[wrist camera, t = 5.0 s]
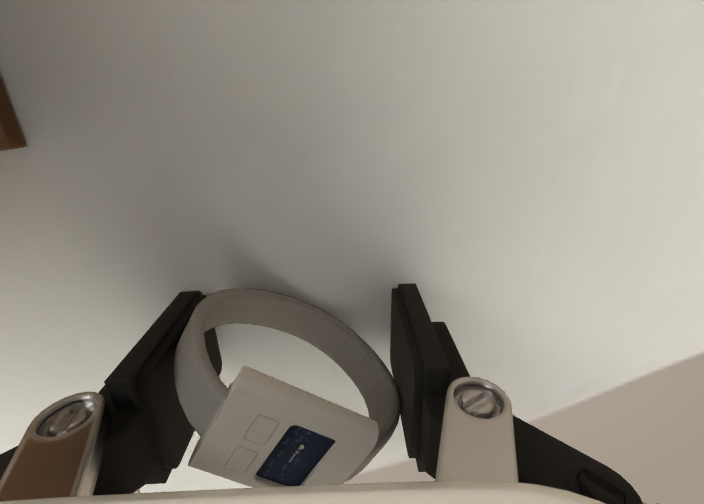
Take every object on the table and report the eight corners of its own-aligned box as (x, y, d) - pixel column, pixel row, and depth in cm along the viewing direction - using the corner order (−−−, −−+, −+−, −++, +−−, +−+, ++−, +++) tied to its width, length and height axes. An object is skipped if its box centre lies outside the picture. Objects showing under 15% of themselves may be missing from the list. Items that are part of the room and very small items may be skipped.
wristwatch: (202, 310, 12) (110, 447, 7) (236, 244, 11) (156, 350, 6) (360, 381, 13) (371, 533, 8) (402, 327, 12) (439, 466, 7)
